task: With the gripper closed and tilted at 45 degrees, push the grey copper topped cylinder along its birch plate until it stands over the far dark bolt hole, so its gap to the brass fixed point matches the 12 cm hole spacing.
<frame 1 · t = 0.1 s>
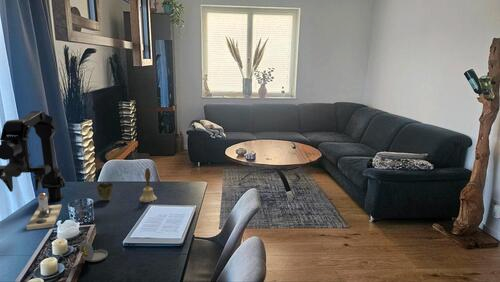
hand: (24, 191, 130), 15 cm above the table, tool pointing down, fingers open, 9 cm apart
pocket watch: (93, 259, 112), on the table
hand bell: (148, 199, 164), on the table
grey copper topped cylinder: (43, 204, 138), point 7 cm above the table, slide at 0.0 cm
pitch plate: (45, 217, 140), on the table
cup: (105, 200, 161), on the table
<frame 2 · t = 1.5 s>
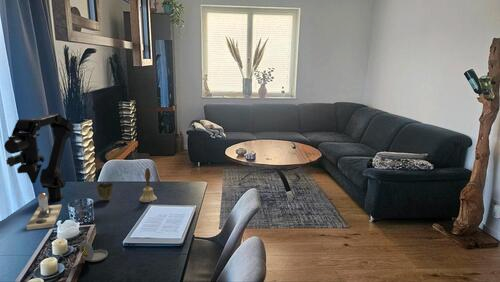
hand: (33, 182, 145), 13 cm above the table, tool pointing down, fingers closed
nothing on the table moved.
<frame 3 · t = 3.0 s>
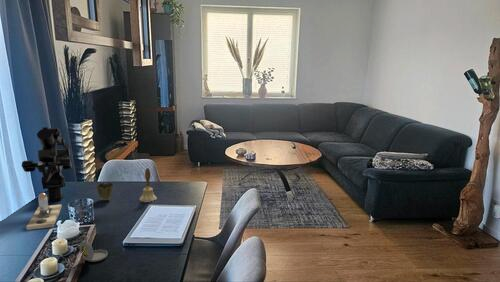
hand: (46, 181, 144), 14 cm above the table, tool tilted 45°, fingers closed
nothing on the table moved.
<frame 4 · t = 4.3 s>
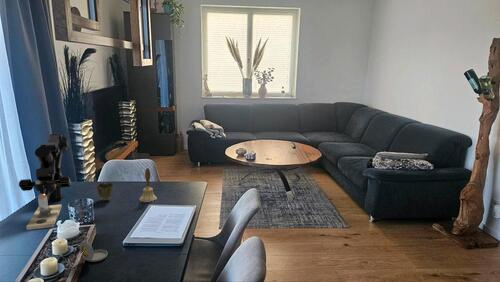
hand: (44, 201, 139), 7 cm above the table, tool tilted 45°, fingers closed, pressing on grey copper topped cylinder
grey copper topped cylinder: (43, 204, 138), point 7 cm above the table, slide at 0.3 cm, touching gripper
everything else where it was.
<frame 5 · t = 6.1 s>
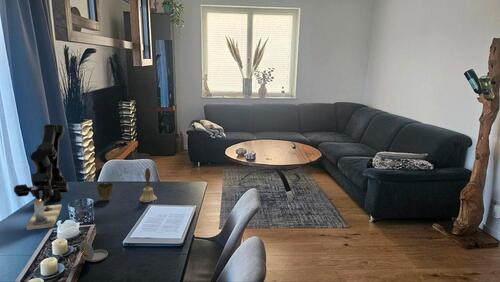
hand: (40, 207, 133), 7 cm above the table, tool tilted 45°, fingers closed
grey copper topped cylinder: (39, 210, 132), point 7 cm above the table, slide at 7.1 cm
everything else where it was.
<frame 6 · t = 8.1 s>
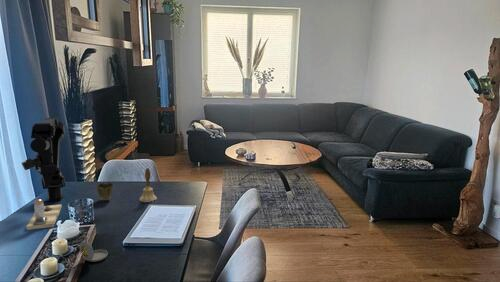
hand: (46, 186, 145), 11 cm above the table, tool pointing down, fingers closed
nothing on the table moved.
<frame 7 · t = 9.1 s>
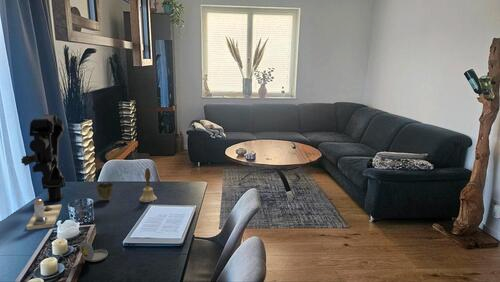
hand: (47, 181, 147), 13 cm above the table, tool pointing down, fingers closed
nothing on the table moved.
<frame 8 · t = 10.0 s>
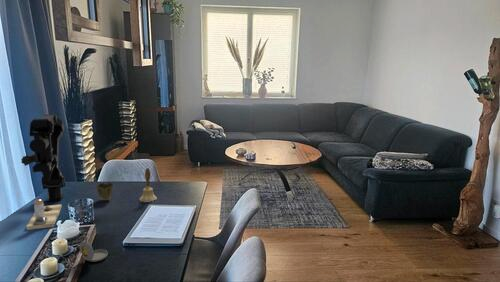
hand: (47, 181, 147), 13 cm above the table, tool pointing down, fingers closed
nothing on the table moved.
at the end: grey copper topped cylinder slide at 7.1 cm; grey copper topped cylinder moved 7.1 cm from its start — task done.
